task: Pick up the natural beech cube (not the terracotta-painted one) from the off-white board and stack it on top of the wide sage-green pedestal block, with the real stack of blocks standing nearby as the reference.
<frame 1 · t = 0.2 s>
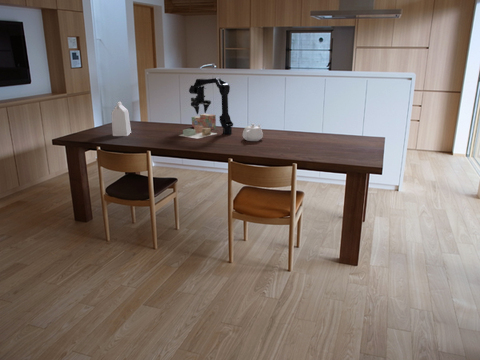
hand: (201, 113, 343), 14 cm above the table, fingers open, 9 cm apart
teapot: (253, 139, 315), on the table
pedestal: (189, 134, 329), point 1 cm above the table, touching board
milk: (122, 134, 334), on the table
terracotta cube: (198, 132, 339), point 1 cm above the table, touching board
stack of blocks: (203, 128, 358), on the table
beech cube: (206, 134, 329), point 1 cm above the table, touching board
board: (198, 135, 330), on the table
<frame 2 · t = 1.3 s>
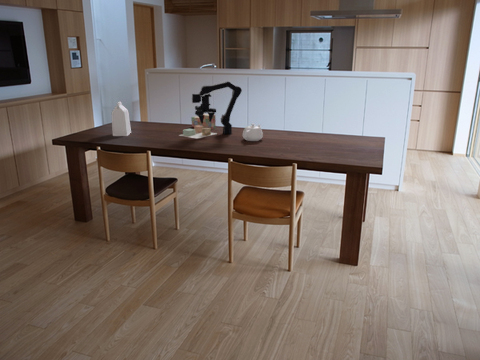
hand: (206, 122, 326), 10 cm above the table, fingers open, 9 cm apart
nothing on the table moved.
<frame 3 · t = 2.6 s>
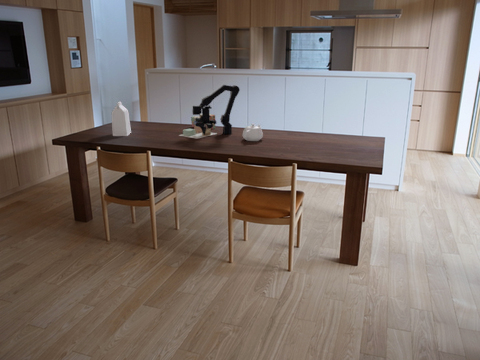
hand: (206, 134, 329), 1 cm above the table, fingers closed on beech cube, 5 cm apart
beech cube: (206, 134, 329), point 1 cm above the table, touching board, gripper
everything else where it was.
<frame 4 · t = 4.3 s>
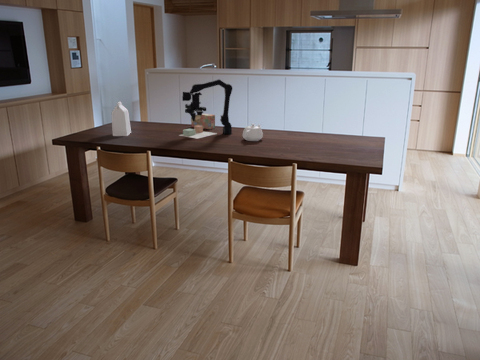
hand: (195, 120, 325), 12 cm above the table, fingers closed on beech cube, 5 cm apart
beech cube: (196, 121, 326), point 11 cm above the table, touching gripper
everything else where it was.
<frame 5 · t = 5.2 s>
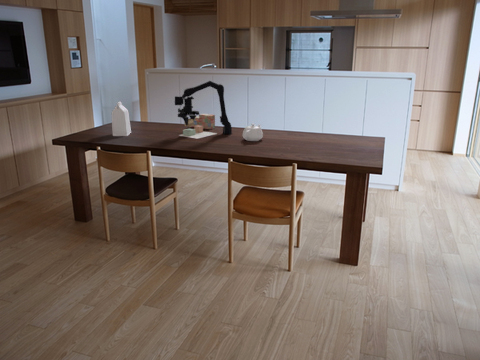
hand: (189, 124, 327), 8 cm above the table, fingers closed on beech cube, 5 cm apart
beech cube: (189, 125, 327), point 8 cm above the table, touching gripper
everything else where it was.
when the fingers open (6 cm above the table, at t = 5.9 s): beech cube stays where it is, resting on pedestal.
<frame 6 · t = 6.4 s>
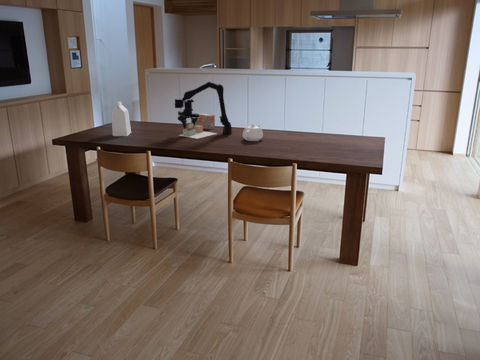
hand: (189, 127, 327), 6 cm above the table, fingers open, 9 cm apart
pedestal: (189, 134, 329), point 1 cm above the table, touching beech cube, board
beech cube: (189, 129, 328), point 5 cm above the table, touching pedestal
everything else where it was.
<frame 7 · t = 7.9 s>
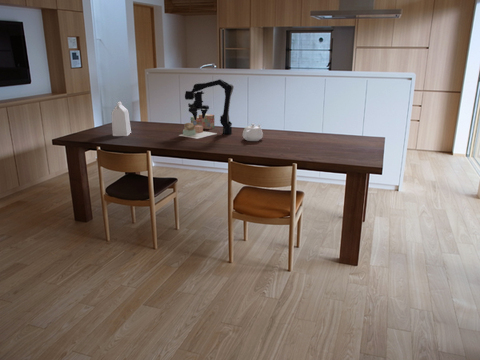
hand: (199, 119, 333), 12 cm above the table, fingers open, 9 cm apart
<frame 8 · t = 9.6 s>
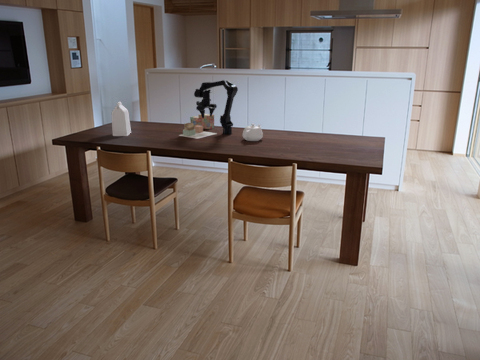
hand: (206, 117, 339), 12 cm above the table, fingers open, 9 cm apart
at the end: beech cube 0.0 cm off-centre on the pedestal, point 4.0 cm above the pedestal's base; beech cube tilted 0°; the gripper is holding nothing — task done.
